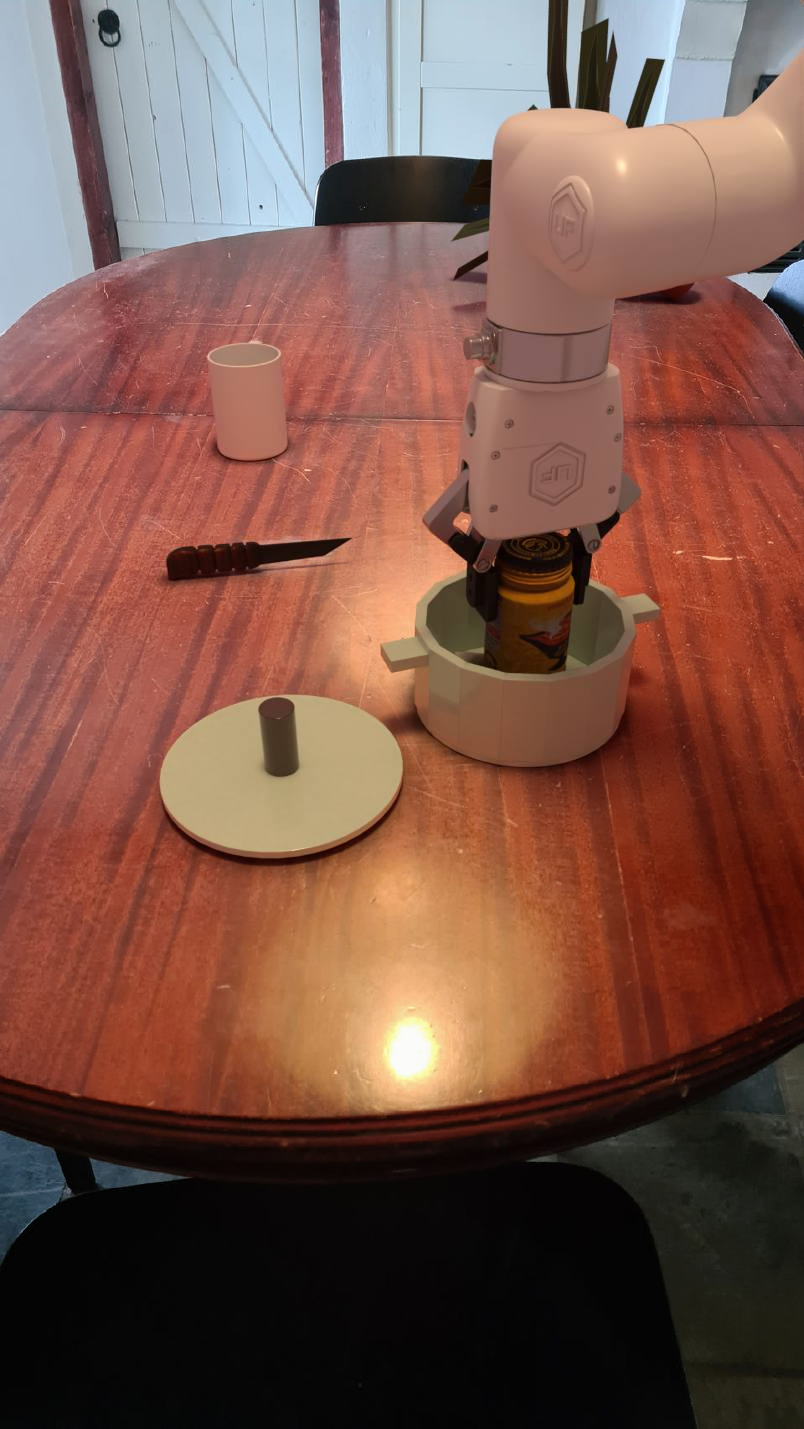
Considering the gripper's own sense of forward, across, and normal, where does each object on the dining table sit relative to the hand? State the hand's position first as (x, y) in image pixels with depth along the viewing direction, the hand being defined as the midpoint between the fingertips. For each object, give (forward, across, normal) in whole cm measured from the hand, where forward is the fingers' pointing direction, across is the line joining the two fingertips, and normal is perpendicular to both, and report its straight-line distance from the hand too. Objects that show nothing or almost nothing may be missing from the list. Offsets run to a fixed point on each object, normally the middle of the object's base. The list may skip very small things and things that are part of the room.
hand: (526, 601), depth 73 cm
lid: (+8, -19, -3) cm, 21 cm away
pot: (+9, 0, 0) cm, 9 cm away
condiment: (+7, -1, 0) cm, 7 cm away
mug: (+9, -8, +56) cm, 57 cm away
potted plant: (+9, +51, +95) cm, 108 cm away
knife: (+9, -14, +26) cm, 31 cm away
